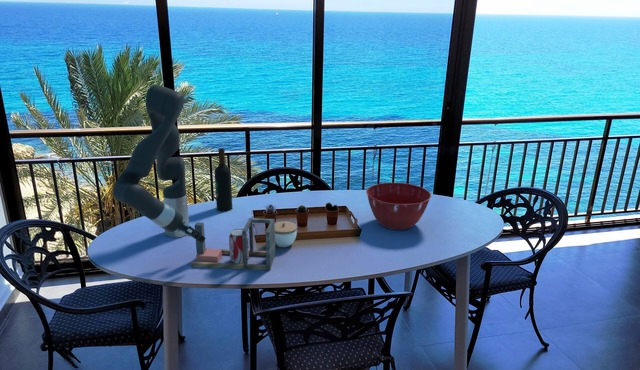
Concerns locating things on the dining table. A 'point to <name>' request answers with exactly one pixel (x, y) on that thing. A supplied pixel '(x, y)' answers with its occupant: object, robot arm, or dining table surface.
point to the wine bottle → (223, 184)
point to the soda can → (237, 246)
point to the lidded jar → (285, 233)
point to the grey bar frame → (268, 253)
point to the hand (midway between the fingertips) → (197, 236)
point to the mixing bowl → (398, 204)
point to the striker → (202, 252)
